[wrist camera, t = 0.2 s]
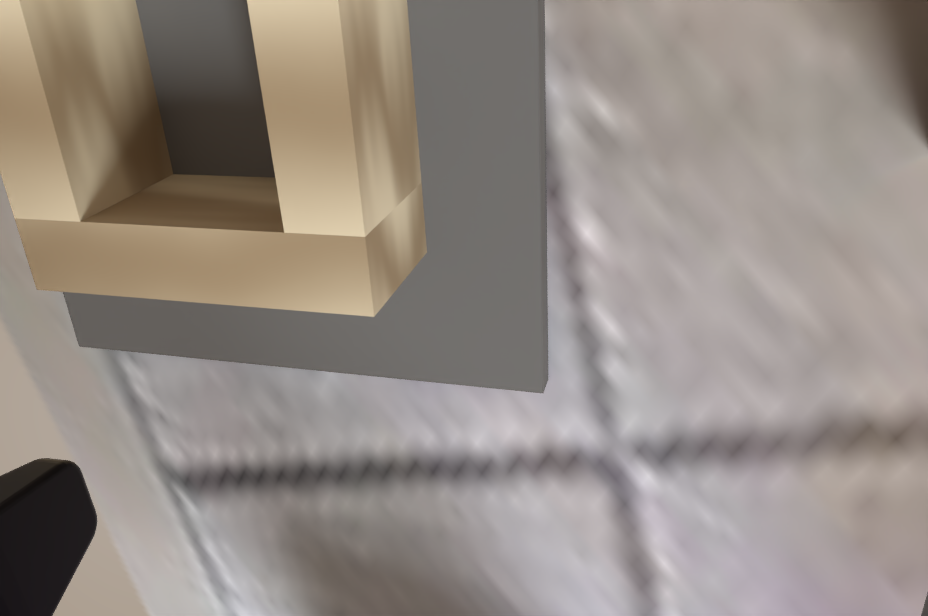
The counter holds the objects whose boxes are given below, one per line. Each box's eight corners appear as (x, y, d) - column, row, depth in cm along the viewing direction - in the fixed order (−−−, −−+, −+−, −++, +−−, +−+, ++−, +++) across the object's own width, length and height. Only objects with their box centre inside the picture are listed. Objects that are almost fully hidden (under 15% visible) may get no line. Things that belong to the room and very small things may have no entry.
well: (426, 252, 23) (374, 316, 19) (130, 235, 25) (36, 289, 22) (395, -145, 18) (320, -153, 15) (42, -116, 21) (-91, -118, 17)
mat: (547, 379, 24) (543, 393, 24) (94, 335, 28) (79, 346, 28) (540, -395, 16) (532, -408, 16) (-87, -295, 21) (-114, -302, 20)
